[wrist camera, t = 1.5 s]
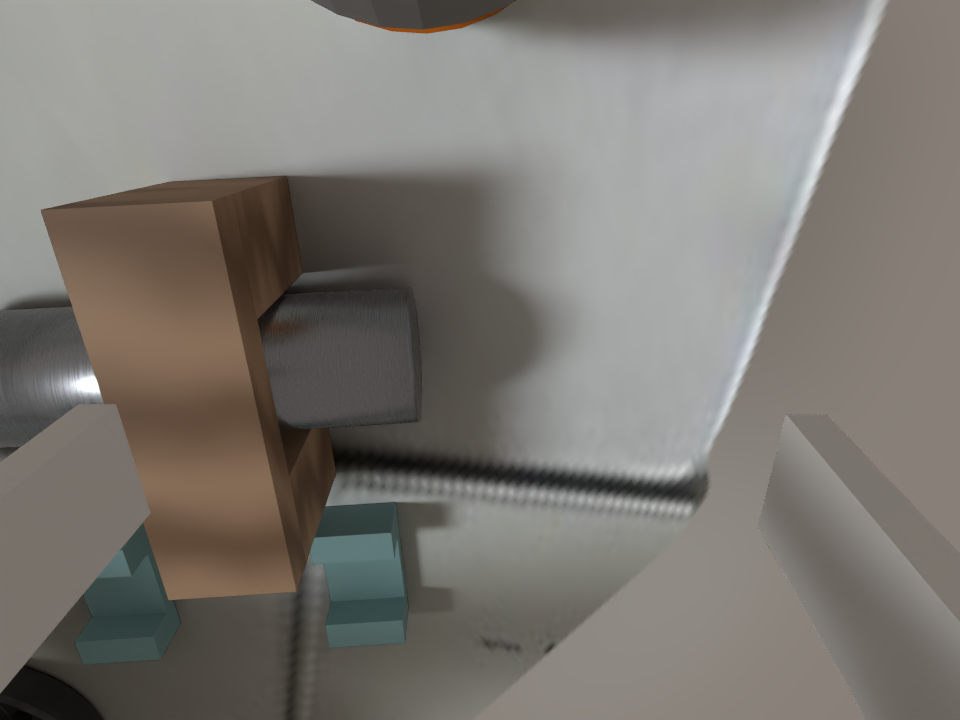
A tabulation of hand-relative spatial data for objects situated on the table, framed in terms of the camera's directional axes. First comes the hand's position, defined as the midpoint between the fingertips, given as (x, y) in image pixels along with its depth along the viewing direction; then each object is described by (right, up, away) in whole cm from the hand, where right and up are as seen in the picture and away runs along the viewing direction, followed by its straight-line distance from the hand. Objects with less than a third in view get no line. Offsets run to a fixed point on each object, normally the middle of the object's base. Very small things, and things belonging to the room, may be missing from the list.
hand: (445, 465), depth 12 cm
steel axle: (-15, +3, +22) cm, 26 cm away
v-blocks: (-15, -12, +28) cm, 34 cm away
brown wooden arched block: (-12, +3, +22) cm, 25 cm away
